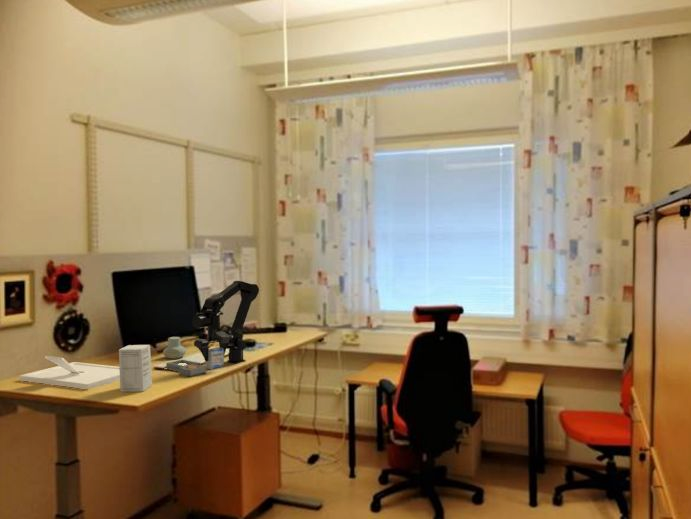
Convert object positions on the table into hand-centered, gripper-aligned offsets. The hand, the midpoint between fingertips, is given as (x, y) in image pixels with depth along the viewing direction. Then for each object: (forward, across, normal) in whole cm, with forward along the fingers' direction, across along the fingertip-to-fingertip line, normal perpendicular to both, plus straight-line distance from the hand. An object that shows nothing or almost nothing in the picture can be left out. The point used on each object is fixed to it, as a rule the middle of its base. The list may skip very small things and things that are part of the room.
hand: (214, 359), depth 263 cm
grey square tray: (+4, -9, +11) cm, 15 cm away
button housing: (+4, -14, -2) cm, 15 cm away
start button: (+2, -14, -2) cm, 14 cm away
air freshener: (+4, +3, +34) cm, 34 cm away
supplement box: (+4, -42, -3) cm, 42 cm away
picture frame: (+4, -45, +34) cm, 57 cm away
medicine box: (+4, 0, 0) cm, 4 cm away
